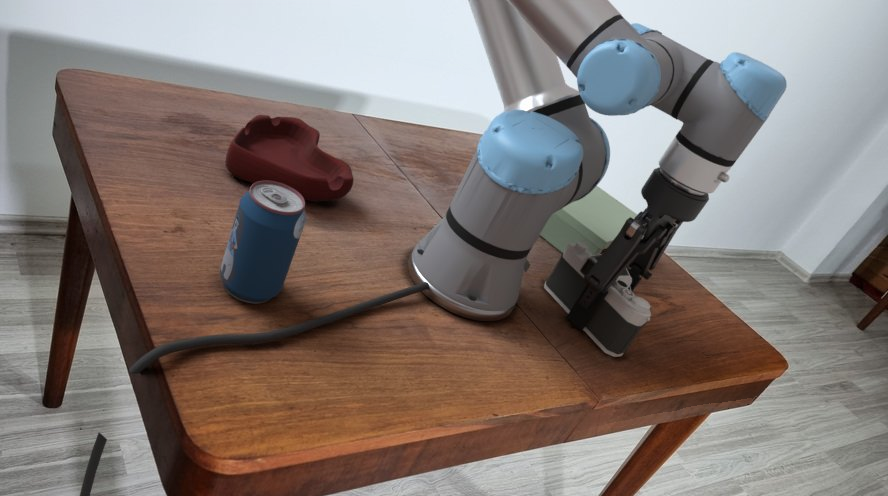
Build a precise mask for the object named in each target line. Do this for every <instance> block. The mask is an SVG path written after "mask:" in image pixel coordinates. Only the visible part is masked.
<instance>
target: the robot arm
mask: <svg viewBox="0 0 888 496" xmlns="http://www.w3.org/2000/svg"><path fill="white" fill-rule="evenodd" d="M467 1H468V3H469V7H470V10H471V13H472V16H473V19H474V22H475V24H476V25H475V26H476V27H477V31H478V33H479V37H480V39H481V42H482V45H483V48H484V51H485V54H486V57H487V60H488V63H489V66H490V70H491V72H492V74H493V78H494V81H495V83H496V86H497V90H498V93H499V95H500V98H501V102H502V104H503V111H502V112H501V113H500V114H498V115H496V116H495V117H494V118H493V119H492V120H491V121H490V124H489V125H488V127H487V129H486V130H484V132H483V134H482V136H481V137H480V138H479V141H478V143H477V148H476V149H475V152H474V154H473V156H472V158H471V161H470V162H469V164H468V166H467V169H466V170H465V173H464V175H463V177H462V179H461V181H460V184H459V186H458V187H457V189H456V192H455V193H454V196H453V198H452V200H451V202H450V205H449V207H448V209H447V211H446V213H445V214H444V216H443V217H442V219H441V220H439V222H437V224H435V225H434V226H433V227H432V228H431V229H430V231H428V232H427V234H425V235H424V236H423V238H421V239H420V240H419V242H417V244H416V245H415V246H414V248H413V249H412V251H411V254H410V256H409V258H408V261H407V271H408V273H409V277H410V278H411V280H412V281H413V283H414V284H415V285H412V286H408V287H406V288H402V289H399V290H395V291H393V292H390V293H386V294H384V295H381V296H378V297H375V298H372V299H369V300H366V301H364V302H361V303H358V304H354V305H353V306H349V307H346V308H343V309H341V310H337V311H334V312H332V313H328V314H325V315H321V316H319V317H316V318H313V319H310V320H307V321H304V322H301V323H298V324H294V325H291V326H288V327H284V328H280V329H276V330H270V331H265V332H264V331H263V332H257V333H238V334H236V333H235V334H232V333H231V334H213V335H212V334H211V335H203V336H202V335H201V336H197V337H191V338H187V339H186V338H185V339H181V340H176V341H172V342H168V343H164V344H162V345H159V346H157V347H155V348H153V349H151V350H150V351H148V352H146V353H145V354H144V355H142V356H141V357H140V358H139V359H138V360H136V362H134V364H132V366H130V368H129V369H128V371H129V373H130V374H131V375H132V374H133V375H137V374H140V373H141V372H143V371H144V370H145V369H146V368H147V367H148V366H149V365H151V364H152V363H154V362H155V361H156V360H158V359H160V358H162V357H164V356H167V355H169V354H172V353H176V352H181V351H186V350H190V349H195V348H200V347H207V346H217V345H218V346H219V345H242V344H243V345H245V344H258V343H265V342H271V341H276V340H280V339H284V338H288V337H291V336H295V335H298V334H302V333H304V332H308V331H310V330H313V329H316V328H319V327H322V326H326V325H328V324H330V323H334V322H337V321H340V320H342V319H345V318H348V317H351V316H354V315H356V314H359V313H361V312H365V311H367V310H370V309H373V308H376V307H379V306H382V305H385V304H387V303H390V302H394V301H396V300H399V299H402V298H406V297H408V296H411V295H415V294H416V293H420V292H422V293H423V294H424V295H425V296H426V297H427V298H428V299H430V300H431V301H432V302H434V304H436V305H438V306H440V307H441V308H443V309H445V310H447V311H448V312H450V313H453V314H455V315H457V316H459V317H463V318H466V319H468V320H474V321H479V322H496V321H500V320H503V319H505V318H507V317H508V316H509V315H510V314H511V313H512V311H513V309H514V308H515V306H516V305H517V302H518V300H519V297H520V291H521V287H522V281H523V275H524V273H527V272H528V270H529V268H530V267H531V263H530V262H529V260H528V259H527V257H528V255H529V254H530V252H531V250H532V249H533V247H534V246H535V243H536V242H537V240H538V239H539V237H540V233H541V231H542V230H543V228H544V226H545V225H546V223H547V221H548V220H549V218H550V217H551V215H552V214H553V213H555V212H557V211H558V210H560V209H562V208H563V207H565V206H567V205H568V204H570V203H572V202H574V201H577V200H580V199H582V198H584V197H585V196H586V195H588V194H589V193H590V192H591V191H592V190H593V189H594V188H595V187H596V186H599V184H600V182H602V180H603V179H604V177H605V175H606V173H607V171H608V168H609V166H610V162H611V161H610V160H611V146H610V142H609V141H610V140H609V138H608V135H607V133H606V131H605V130H604V128H603V127H602V125H601V124H599V122H597V121H596V120H594V118H592V117H590V114H589V111H588V109H587V107H588V108H589V109H590V110H591V111H593V112H594V113H597V114H599V115H603V116H609V117H610V116H611V117H613V116H615V117H616V116H629V115H631V114H632V115H633V114H635V113H637V112H639V111H640V110H644V109H645V108H646V107H647V108H648V107H650V106H651V107H653V108H654V109H657V110H659V111H661V112H663V113H664V114H666V115H669V116H670V117H671V118H673V119H674V120H678V121H680V122H681V123H682V125H681V127H680V129H679V130H678V131H677V133H676V135H675V136H674V137H673V139H672V141H671V142H670V144H669V145H668V147H667V148H666V149H665V151H664V153H663V154H662V155H661V157H660V159H659V161H658V166H659V167H657V168H654V169H653V170H652V172H651V173H650V175H649V177H648V178H647V180H646V181H645V183H644V184H643V186H642V188H641V190H640V194H641V197H642V198H643V199H644V200H645V202H646V204H647V206H646V208H645V209H644V210H643V211H640V212H638V213H637V216H636V217H635V218H634V219H633V218H631V217H630V218H629V219H627V220H626V222H625V224H624V225H623V227H622V229H621V230H620V232H619V233H618V235H617V236H616V237H615V239H614V240H613V241H612V243H611V244H610V245H609V247H608V248H606V249H605V250H604V252H603V253H602V254H603V255H602V256H601V257H600V258H599V260H598V261H597V262H596V264H595V265H594V266H593V268H592V269H591V270H590V272H589V273H588V274H585V276H584V280H585V281H586V282H587V283H588V284H587V286H586V287H585V289H584V290H583V292H582V293H581V295H580V297H579V298H578V300H577V301H576V303H575V304H574V306H573V307H572V309H571V310H570V312H569V313H567V315H566V317H565V318H566V319H568V320H569V321H570V322H571V323H572V324H573V325H574V326H576V327H577V328H578V329H579V330H580V331H583V329H584V328H585V326H586V325H587V323H588V322H589V320H590V319H591V317H592V316H593V315H594V313H595V312H596V310H597V309H598V307H599V306H600V304H601V303H602V301H603V300H604V298H605V297H606V295H607V294H608V291H607V290H608V288H609V287H610V286H611V285H612V284H613V282H614V281H615V280H616V279H617V278H618V277H619V276H620V275H621V273H622V272H623V271H624V270H625V269H626V268H627V269H628V271H629V273H630V275H631V277H632V282H631V284H630V287H631V291H632V292H633V293H634V291H635V289H636V287H637V286H638V285H639V283H640V282H641V281H642V279H645V280H646V281H648V280H649V279H651V277H652V276H653V274H652V273H651V271H653V270H654V269H655V268H656V266H657V265H658V263H659V261H660V259H661V258H662V256H663V255H664V253H665V251H666V249H667V248H668V246H669V244H670V243H671V241H672V239H673V238H674V236H675V235H676V233H677V232H678V230H679V228H680V227H681V225H682V224H683V223H690V222H693V221H695V220H696V219H697V218H698V216H699V215H700V213H701V212H702V210H703V209H704V207H706V205H707V203H708V202H709V200H710V195H709V194H713V193H714V192H715V191H716V190H717V189H718V187H719V186H720V184H721V183H727V182H728V181H729V180H730V175H729V174H728V172H729V171H730V170H731V169H732V167H733V166H734V165H735V163H736V162H737V161H738V160H739V158H740V157H741V155H742V154H743V153H744V151H745V150H746V148H747V147H748V146H749V145H750V143H751V142H752V140H753V139H755V136H756V135H757V133H758V132H759V131H760V129H761V128H762V127H763V125H764V124H765V123H766V122H767V120H768V118H769V117H770V115H771V114H772V112H773V110H774V109H775V108H776V106H777V104H778V102H779V101H780V100H781V98H782V97H783V95H784V94H785V91H786V90H787V86H788V85H787V79H786V77H785V75H783V74H782V73H781V72H780V71H778V70H777V69H775V68H773V67H772V66H769V64H766V63H764V62H762V61H761V60H758V59H756V58H753V57H751V56H750V55H747V54H745V53H741V52H737V51H733V52H730V53H729V54H728V55H727V56H726V57H725V59H724V60H722V61H721V62H720V63H719V62H718V61H714V60H712V59H709V58H707V57H705V56H704V55H702V54H700V53H698V52H695V51H694V50H692V49H690V48H688V47H687V46H685V45H683V44H681V43H679V42H678V41H675V40H674V39H671V38H670V37H668V36H666V35H665V34H663V33H662V32H661V31H659V30H658V29H652V28H649V27H647V26H646V25H643V24H641V23H638V22H634V23H630V22H629V21H628V20H627V19H625V17H624V16H623V15H622V14H621V12H620V11H619V10H618V9H617V8H616V7H615V5H613V3H611V2H610V0H467ZM559 60H560V61H561V62H562V63H563V64H564V65H565V67H566V68H567V69H568V70H569V71H570V72H571V73H572V74H573V76H574V77H575V78H576V85H577V89H576V88H573V87H571V86H569V85H568V84H567V83H566V80H565V77H564V74H563V71H562V68H561V64H560V62H559ZM107 441H108V439H107V438H106V437H105V436H104V435H103V434H102V433H100V432H98V433H97V435H96V439H95V440H94V444H93V447H92V450H91V453H90V456H89V459H88V462H87V463H88V464H87V466H86V469H85V473H84V476H83V481H82V485H81V489H80V493H79V496H91V493H92V488H93V485H94V480H95V478H96V474H97V471H98V467H99V465H100V462H101V459H102V456H103V452H104V450H105V447H106V444H107Z"/></svg>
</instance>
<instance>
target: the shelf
mask: <svg viewBox="0 0 888 496" xmlns="http://www.w3.org/2000/svg"><path fill="white" fill-rule="evenodd" d="M637 215H638V213H636V212H635V211H633V210H632V209H630V208H629V207H628V206H626V205H625V204H623V203H622V202H620V201H619V200H618V199H616V198H615V197H614V196H612V195H611V194H609V193H608V192H606V190H603V188H601V187H600V186H599V185H597V186H596V187H595V188H594V189H593V190H592V191H591V192H590V193H589V194H588V195H586V196H585V197H584V198H582V199H580V200H577V201H574V202H572V203H570V204H568V205H567V206H565V207H563V208H562V209H560V210H558V211H557V212H555V213H553V214H552V215H551V217H550V218H549V220H548V221H547V223H546V225H545V226H544V228H543V230H542V231H541V233H540V235H539V237H542V238H543V239H544V240H545V241H547V243H549V244H550V245H552V246H553V247H554V248H555V249H557V250H558V251H559V252H560V253H561V254H562V253H563V252H564V251H565V249H566V248H567V246H568V244H569V243H577V242H582V243H584V244H585V245H586V246H587V247H588V248H587V250H588V251H589V252H590V253H591V254H592V255H599V254H602V252H603V250H606V249H607V248H608V247H609V245H610V244H611V243H612V241H613V240H614V239H615V237H616V236H617V235H618V233H619V232H620V230H621V229H622V227H623V225H624V224H625V222H626V220H627V219H629V218H630V217H631V218H633V219H634V218H635V217H636V216H637Z"/></svg>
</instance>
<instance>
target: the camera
mask: <svg viewBox="0 0 888 496" xmlns="http://www.w3.org/2000/svg"><path fill="white" fill-rule="evenodd" d="M587 248H588V247H587V246H586V245H585V244H584V243H582V242H577V243H569V244H568V246H567V248H566V249H565V251H564V252H563V253H562V252H561V254H560V257H559V258H558V261H557V262H556V264H555V265H554V267H553V269H552V270H551V272H550V273H549V275H548V276H547V277H546V279H545V282H544V287H543V288H544V289H545V291H546V292H547V293H548V294H549V295H550V296H551V297H552V298H553V299H554V300H555V301H556V303H557V304H558V305H560V307H561V308H562V309H563V310H564V311H565V312H566V313H567V314H568V313H569V312H570V310H571V309H572V307H573V306H574V304H575V303H576V301H577V300H578V298H579V297H580V295H581V293H582V292H583V290H584V289H585V287H586V286H587V284H588V283H587V282H586V281H585V280H584V276H585V274H588V273H589V272H590V270H591V269H592V268H593V266H594V265H595V264H596V262H597V261H598V260H599V258H600V257H601V256H602V255H603V253H600V254H599V255H592V254H591V253H590V252H589V251H588V250H587ZM627 268H628V267H627ZM627 268H626V269H625V270H624V271H623V272H622V273H621V275H620V276H619V277H618V278H617V279H616V280H615V281H614V282H613V284H612V285H611V286H610V287H609V288H608V290H607V291H608V294H607V295H606V297H605V298H604V300H603V301H602V303H601V304H600V306H599V307H598V309H597V310H596V312H595V313H594V315H593V316H592V317H591V319H590V320H589V322H588V323H587V325H586V326H585V328H584V329H582V331H584V332H585V333H586V334H587V336H588V337H589V338H590V339H591V340H592V341H593V342H594V343H595V344H596V345H597V346H598V347H599V348H600V350H601V351H602V352H603V353H605V354H606V355H609V356H611V357H614V358H617V357H622V356H623V355H624V354H625V353H626V352H627V350H628V349H629V347H630V346H631V344H632V342H633V341H634V340H635V338H636V337H637V335H639V333H640V332H641V330H642V329H643V328H644V327H645V325H646V324H647V323H648V322H650V321H651V316H652V313H651V309H650V308H651V307H652V305H650V302H648V301H647V300H646V299H644V298H643V297H642V296H641V297H640V296H637V295H636V294H635V293H634V291H633V292H632V291H631V287H630V284H631V282H632V277H631V275H630V273H629V271H628V269H627Z"/></svg>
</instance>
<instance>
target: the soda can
mask: <svg viewBox="0 0 888 496" xmlns="http://www.w3.org/2000/svg"><path fill="white" fill-rule="evenodd" d="M305 207H306V200H304V198H303V197H302V195H301V194H300V193H299V192H297V191H296V190H295V189H293V188H291V187H289V186H287V185H285V184H282V183H279V182H275V181H258V182H255V183H252V184H251V186H250V187H249V190H248V191H247V192H246V193H244V194H243V196H241V197H240V199H239V203H238V207H237V210H236V214H235V216H234V220H233V224H232V227H231V231H230V234H229V238H228V240H227V245H226V247H225V251H224V254H223V257H222V261H221V265H220V268H219V276H220V279H221V282H222V284H223V287H224V289H225V290H226V292H227V293H228V294H229V295H230V296H232V297H233V298H235V299H236V300H239V301H240V302H243V303H247V304H255V305H257V304H263V303H266V302H268V301H270V300H271V299H273V298H274V297H276V296H277V295H279V294H280V292H281V291H282V289H283V287H284V284H285V281H286V278H287V276H288V273H289V270H290V267H291V264H292V261H293V258H294V255H295V253H296V250H297V247H298V244H299V242H300V238H301V237H302V233H303V230H304V227H305V225H306V221H307V216H306V215H307V214H306V211H305Z"/></svg>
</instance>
